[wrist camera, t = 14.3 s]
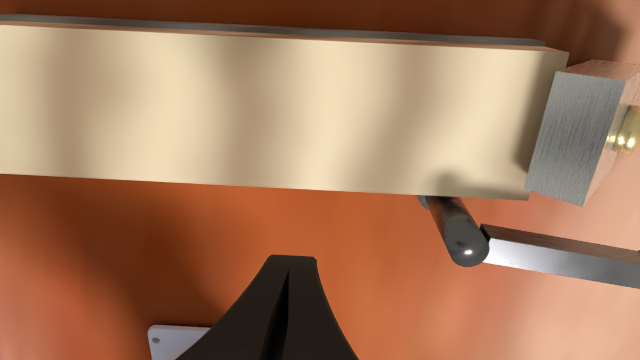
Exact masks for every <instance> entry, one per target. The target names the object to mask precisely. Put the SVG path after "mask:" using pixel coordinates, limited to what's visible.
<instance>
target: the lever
mask: <svg viewBox="0 0 640 360" xmlns="http://www.w3.org/2000/svg"><path fill="white" fill-rule="evenodd" d="M425 201H426V203H427V205H428V207H429V210H430V212H431V214H432V216H433V218H434V221H435V223H436V225H437V227H438V230H439V232H440V234H441V236H442V238H443V241H444V243H445V245H446V247H447V249H448V252H449V254H450V256H451V258H452V260H453V261H454V262H455V263H456V264H458V265H460V266H463V267H472V266H475V265H478V264H480V263H481V262H486V263H492V264H498V265H504V266H509V267H515V268H521V269H527V270H533V271H539V272H544V273H550V274H556V275H562V276H568V277H574V278H580V279H585V280H591V281H597V282H603V283H609V284H615V285H620V286H626V287H632V288H638V289H640V250H639V251H634V250H629V249H623V248H617V247H612V246H606V245H600V244H594V243H589V242H583V241H577V240H572V239H566V238H560V237H555V236H549V235H543V234H538V233H532V232H526V231H521V230H515V229H509V228H504V227H498V226H492V225H487V224H481V226H480V228H479V227H478V226H477V224H476V223H475V221H474V219H473V218H472V216H471V215H470V213H469V211H468V210H467V208H466V207H465V205H464V203H463V202H462V200H461V199H460V197H450V196H430V195H425Z"/></svg>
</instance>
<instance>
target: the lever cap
mask: <svg viewBox="0 0 640 360" xmlns="http://www.w3.org/2000/svg"><path fill="white" fill-rule="evenodd" d="M639 94H640V65H639V64H630V63H621V62H612V61H604V60H595V59H592V60H589V61H586V62H583V63H580V64H577V65H573V66H570V67H567V68H564V69H561V70H558V71H556V73H555V76H554V80H553V84H552V87H551V91H550V94H549V98H548V102H547V105H546V109H545V113H544V116H543V120H542V124H541V127H540V131H539V134H538V138H537V142H536V145H535V149H534V153H533V156H532V160H531V163H530V167H529V171H528V174H527V178H526V182H525V185H524V189H527V190H530V191H533V192H537V193H540V194H543V195H546V196H550V197H553V198H556V199H559V200H562V201H566V202H569V203H572V204H575V205H578V206H582V207H583V206H584V204H585V203H586V202H587V201H588V199H589V198H590V197H591V195H592V194H593V193H594V191H595V190H596V189H597V187H598V186H599V185H600V183H601V182H602V181H603V180H604V178H605V177H606V176H607V174H608V173H609V172H610V170H611V169H612V168H613V165H614V163H615V160H616V157H617V154H618V152H620V153H624V154H628V155H633V154H634V153H635V151H636V148H637V146H638V144H639V142H640V106H636V103H637V100H638V97H639Z"/></svg>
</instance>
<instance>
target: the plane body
mask: <svg viewBox="0 0 640 360" xmlns="http://www.w3.org/2000/svg"><path fill="white" fill-rule="evenodd" d="M545 45H546V42H545V41H540V40H536V39H531V38H511V37H490V36H469V35H449V34H428V33H407V32H386V31H366V30H345V29H324V28H303V27H283V26H262V25H241V24H220V23H199V22H179V21H158V20H137V19H116V18H96V17H75V16H54V15H33V14H0V173H1V174H21V175H40V176H60V177H79V178H99V179H118V180H138V181H157V182H177V183H196V184H216V185H235V186H255V187H274V188H294V189H313V190H333V191H352V192H372V193H391V194H411V195H430V196H450V197H469V198H489V199H508V200H528V198H529V195H530V190H527V189H524V185H525V182H526V178H527V174H528V171H529V167H530V163H531V160H532V156H533V153H534V149H535V145H536V142H537V138H538V134H539V131H540V127H541V124H542V120H543V116H544V113H545V109H546V105H547V102H548V98H549V94H550V91H551V87H552V84H553V80H554V76H555V73H556V71H558V70H561V69H564V68H566V64H567V61H568V57H569V54H570V52H565V51H561V50H557V49H553V48H549V47H545Z"/></svg>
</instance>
